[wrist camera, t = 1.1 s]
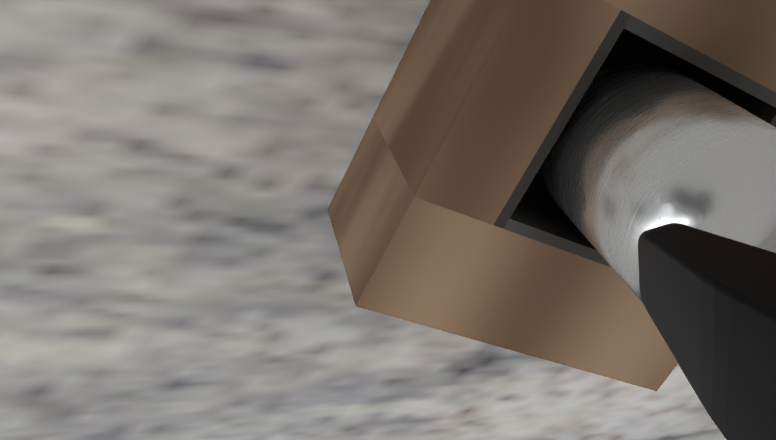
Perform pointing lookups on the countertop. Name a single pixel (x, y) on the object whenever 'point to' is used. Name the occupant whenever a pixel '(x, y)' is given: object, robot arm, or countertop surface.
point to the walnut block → (520, 172)
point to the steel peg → (661, 164)
